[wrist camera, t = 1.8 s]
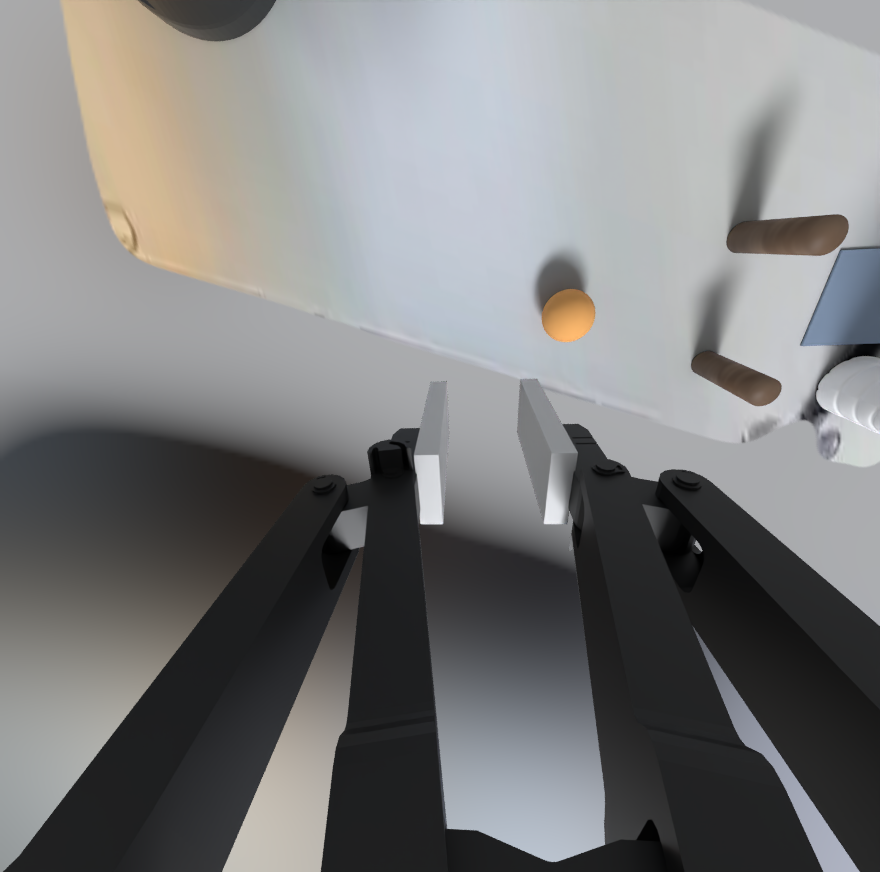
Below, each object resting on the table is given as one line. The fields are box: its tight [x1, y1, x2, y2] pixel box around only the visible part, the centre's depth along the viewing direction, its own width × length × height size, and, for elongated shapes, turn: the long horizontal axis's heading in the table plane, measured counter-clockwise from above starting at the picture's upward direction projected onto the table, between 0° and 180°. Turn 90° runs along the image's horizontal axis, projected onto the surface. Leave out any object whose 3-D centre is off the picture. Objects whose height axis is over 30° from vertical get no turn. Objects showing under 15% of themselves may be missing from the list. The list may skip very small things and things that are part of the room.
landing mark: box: [800, 248, 880, 346], centre depth 36 cm, size 9×9×1 cm
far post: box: [691, 351, 781, 406], centre depth 36 cm, size 3×3×9 cm
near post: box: [727, 215, 849, 256], centre depth 30 cm, size 3×3×9 cm
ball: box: [542, 289, 595, 342], centre depth 36 cm, size 5×5×5 cm
